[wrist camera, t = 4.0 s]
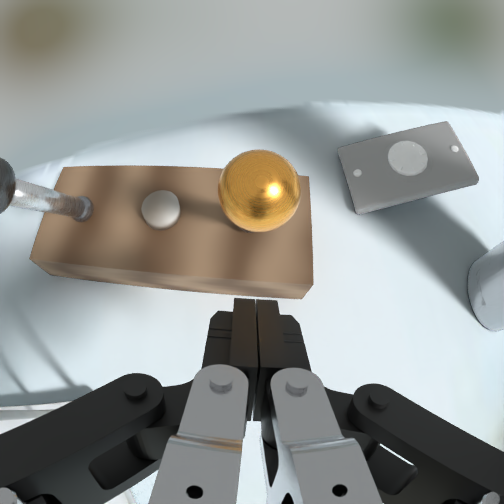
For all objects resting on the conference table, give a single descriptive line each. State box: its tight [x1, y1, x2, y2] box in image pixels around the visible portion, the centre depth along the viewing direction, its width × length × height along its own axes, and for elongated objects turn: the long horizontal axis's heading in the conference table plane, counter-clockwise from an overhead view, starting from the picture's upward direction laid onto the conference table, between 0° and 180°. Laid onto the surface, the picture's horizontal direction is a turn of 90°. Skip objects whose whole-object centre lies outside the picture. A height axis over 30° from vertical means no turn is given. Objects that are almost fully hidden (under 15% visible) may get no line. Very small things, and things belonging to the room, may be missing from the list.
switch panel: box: [29, 166, 313, 299], centre depth 25 cm, size 24×10×5 cm, turn 87°
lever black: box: [0, 158, 94, 222], centre depth 16 cm, size 3×3×14 cm
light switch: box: [337, 121, 479, 215], centre depth 30 cm, size 8×6×14 cm
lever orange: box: [218, 150, 301, 233], centre depth 17 cm, size 3×3×14 cm
